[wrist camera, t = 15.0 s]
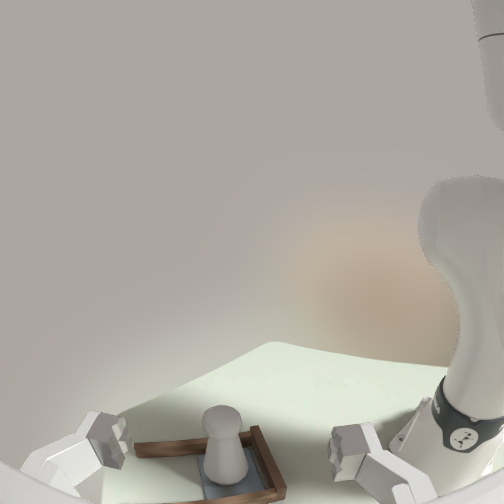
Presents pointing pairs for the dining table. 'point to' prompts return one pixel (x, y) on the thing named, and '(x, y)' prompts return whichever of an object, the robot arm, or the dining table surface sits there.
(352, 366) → the dining table surface
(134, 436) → the dining table surface
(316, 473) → the dining table surface
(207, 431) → the salt shaker
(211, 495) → the bay
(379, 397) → the dining table surface
